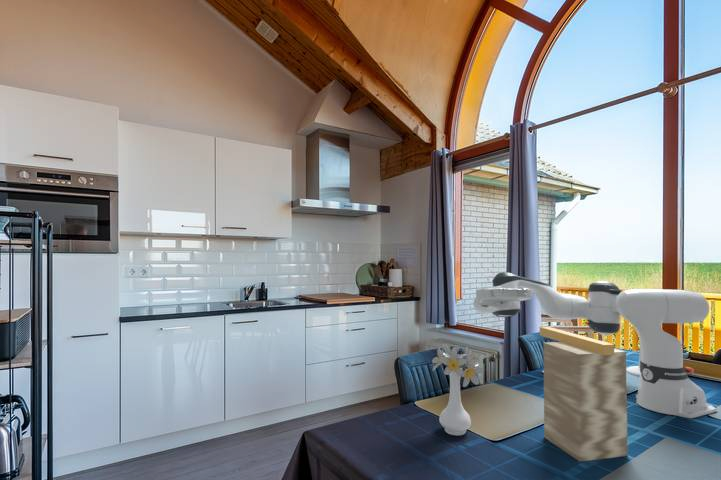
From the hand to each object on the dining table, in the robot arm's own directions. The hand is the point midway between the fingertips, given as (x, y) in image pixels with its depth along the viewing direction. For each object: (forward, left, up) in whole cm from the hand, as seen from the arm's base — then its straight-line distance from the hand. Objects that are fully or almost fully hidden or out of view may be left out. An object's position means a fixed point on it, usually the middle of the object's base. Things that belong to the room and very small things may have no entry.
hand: (514, 290), depth 145 cm
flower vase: (+35, +24, -37) cm, 57 cm away
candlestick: (-68, -11, -37) cm, 79 cm away
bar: (+6, +35, -11) cm, 38 cm away
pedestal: (+6, +39, -37) cm, 54 cm away
